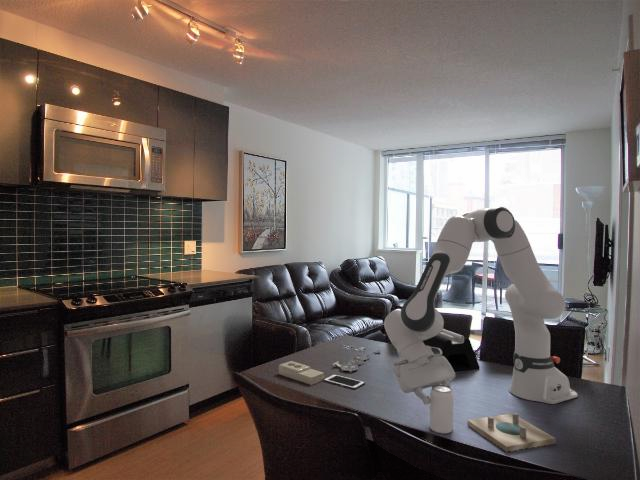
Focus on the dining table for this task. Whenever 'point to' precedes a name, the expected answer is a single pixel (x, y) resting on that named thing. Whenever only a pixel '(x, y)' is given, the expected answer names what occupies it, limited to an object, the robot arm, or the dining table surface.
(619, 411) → the dining table surface
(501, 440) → the pin plate
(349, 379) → the cell phone
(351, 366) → the drone parts
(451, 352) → the device stand
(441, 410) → the can
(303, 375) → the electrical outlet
